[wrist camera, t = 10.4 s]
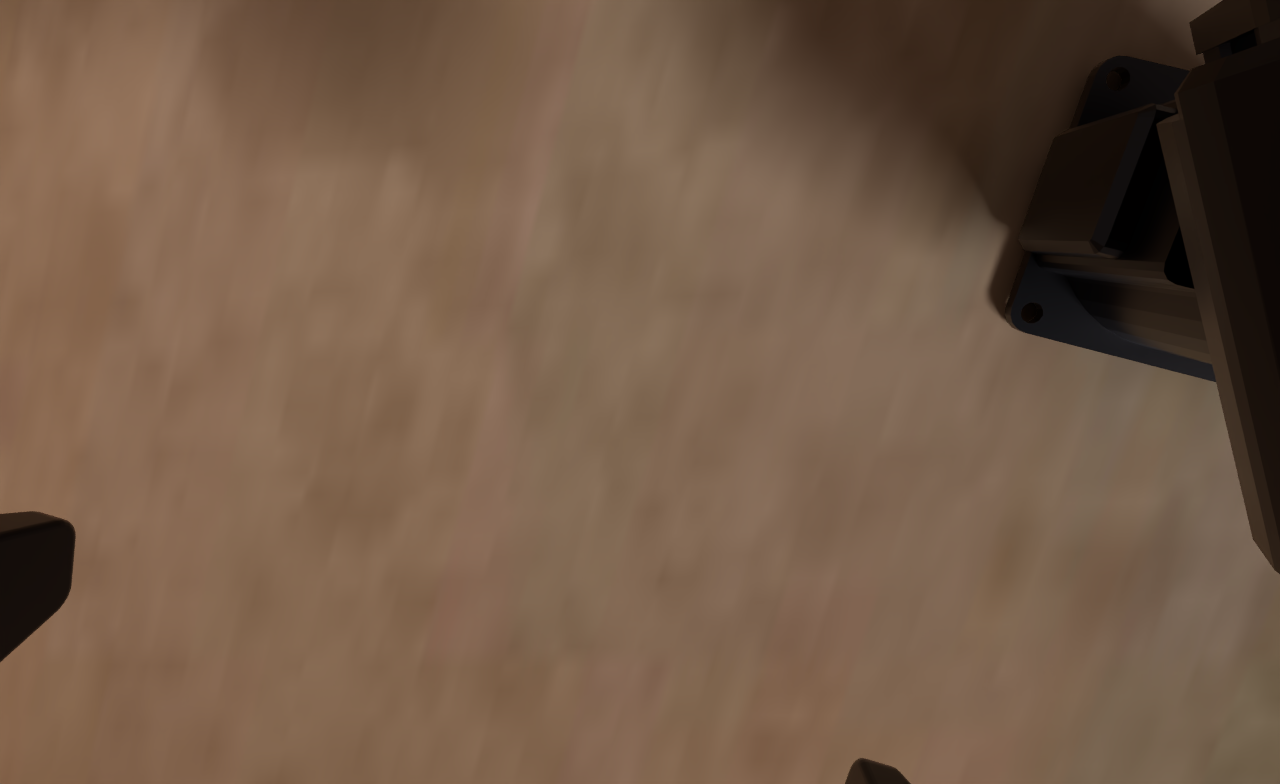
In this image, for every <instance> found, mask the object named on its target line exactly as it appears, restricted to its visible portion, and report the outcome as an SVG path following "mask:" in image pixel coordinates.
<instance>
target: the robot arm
mask: <svg viewBox="0 0 1280 784" xmlns="http://www.w3.org/2000/svg"><path fill="white" fill-rule="evenodd" d="M1190 28H1191V32H1192V37H1193V41H1194V46H1195V50H1196V55H1198V54H1201V53H1203V55H1204V60H1205V64H1204V65H1202V66H1199V67H1196V68H1193V69H1191V70H1190V71H1188V70H1184V69H1180V68H1175V67H1171V66H1167V65H1162V64H1158V63H1154V62H1150V61H1145V60H1141V59H1137V58H1132V57H1128V56H1116V57H1113V58H1110V59H1108V60H1106V61H1104V62H1101V63H1100V64H1099V65H1097V66H1096V67H1095V68H1094V69H1093V70H1092V72H1091V74H1090V75H1089V77H1088V80H1087V82H1086V85H1085V88H1084V91H1083V93H1082V96H1081V99H1080V102H1079V105H1078V107H1077V110H1076V113H1075V116H1074V118H1073V121H1072V124H1071V127H1070V129H1069V130H1067V131H1065V132H1063V133H1061V134H1060V135H1058V136H1056V137H1055V138H1054V140H1053V142H1052V145H1051V148H1050V151H1049V154H1048V156H1047V159H1046V162H1045V165H1044V168H1043V170H1042V173H1041V176H1040V179H1039V182H1038V185H1037V187H1036V190H1035V193H1034V196H1033V199H1032V201H1031V204H1030V207H1029V210H1028V213H1027V215H1026V218H1025V221H1024V224H1023V227H1022V229H1021V232H1020V235H1019V241H1020V243H1021V246H1022V248H1023V249H1024V250H1025V251H1026V252H1025V255H1024V257H1023V260H1022V263H1021V266H1020V269H1019V271H1018V274H1017V277H1016V280H1015V282H1014V285H1013V288H1012V291H1011V294H1010V296H1009V299H1008V302H1007V305H1006V309H1005V316H1006V320H1007V322H1008V323H1009V324H1010V326H1011V327H1012V328H1014V329H1017V330H1019V331H1021V332H1024V333H1028V334H1032V335H1036V336H1040V337H1044V338H1048V339H1051V340H1055V341H1059V342H1063V343H1067V344H1071V345H1075V346H1078V347H1082V348H1086V349H1090V350H1094V351H1098V352H1102V353H1106V354H1109V355H1113V356H1117V357H1121V358H1125V359H1129V360H1133V361H1137V362H1140V363H1144V364H1148V365H1152V366H1156V367H1160V368H1164V369H1167V370H1171V371H1175V372H1179V373H1183V374H1187V375H1191V376H1195V377H1198V378H1202V379H1206V380H1210V381H1214V382H1216V383H1217V387H1218V391H1219V396H1220V400H1221V404H1222V409H1223V413H1224V417H1225V421H1226V426H1227V430H1228V434H1229V439H1230V443H1231V447H1232V451H1233V456H1234V460H1235V464H1236V468H1237V473H1238V477H1239V481H1240V486H1241V490H1242V494H1243V498H1244V503H1245V507H1246V511H1247V516H1248V520H1249V524H1250V528H1251V533H1252V537H1253V540H1254V541H1255V543H1256V544H1257V546H1258V547H1259V548H1260V550H1261V551H1262V553H1263V554H1264V556H1265V557H1266V558H1267V560H1268V561H1269V563H1270V564H1271V565H1272V567H1273V568H1274V570H1275V571H1277V572H1278V573H1279V574H1280V0H1223V1H1221V2H1220V3H1218V4H1217V5H1215V6H1214V7H1212V8H1211V9H1209V10H1208V11H1206V12H1205V13H1203V14H1202V15H1200V16H1199V17H1197V18H1196V19H1195V20H1193V21H1192V22H1190ZM1110 71H1115V72H1117V73H1119V75H1120V77H1121V79H1122V80H1121V86H1120V87H1119V89H1118V90H1117V91H1113V90H1112V89H1110V88H1109V87H1108V85H1107V83H1106V79H1107V75H1108V74H1109V72H1110ZM1028 303H1034V304H1035V306H1036V308H1037V313H1036V315H1035V317H1034V318H1033V319H1032V320H1030V321H1024V320H1023V319H1022V317H1021V310H1022V309H1023V307H1024V306H1025V305H1026V304H1028ZM75 538H76V536H75V530H74V527H73V525H72V524H71V523H70V522H69V521H67V520H64V519H61V518H58V517H54V516H51V515H48V514H44V513H41V512H35V511H29V512H18V513H6V514H0V662H1V661H2V660H3V659H4V658H5V657H7V656H8V655H9V654H10V653H11V652H12V651H13V650H14V649H15V648H17V647H18V646H19V645H20V644H21V643H22V642H23V641H24V640H25V639H27V638H28V637H29V636H30V635H31V634H32V633H33V632H34V631H35V630H37V629H38V628H39V627H40V626H41V625H42V624H43V623H44V622H45V621H47V620H48V619H49V618H50V617H51V616H52V615H53V614H54V613H55V612H57V611H58V610H59V609H60V607H61V606H62V605H63V603H64V602H65V600H66V599H67V597H68V595H69V592H70V589H71V583H72V572H73V561H74V549H75ZM845 784H910V782H909V781H908V780H907V779H906V778H905V777H904V776H903V775H902V774H901V773H900V772H899V771H898V770H897V769H896V768H894V767H892V766H889V765H885V764H882V763H878V762H875V761H872V760H868V759H864V758H860V759H858V760H856V761H855V762H854V763H853V765H852V766H851V769H850V771H849V774H848V777H847V779H846V782H845Z"/></svg>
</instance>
